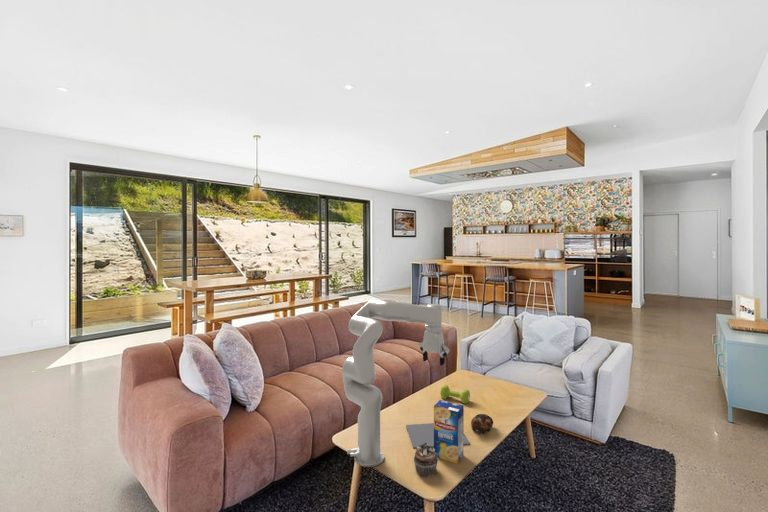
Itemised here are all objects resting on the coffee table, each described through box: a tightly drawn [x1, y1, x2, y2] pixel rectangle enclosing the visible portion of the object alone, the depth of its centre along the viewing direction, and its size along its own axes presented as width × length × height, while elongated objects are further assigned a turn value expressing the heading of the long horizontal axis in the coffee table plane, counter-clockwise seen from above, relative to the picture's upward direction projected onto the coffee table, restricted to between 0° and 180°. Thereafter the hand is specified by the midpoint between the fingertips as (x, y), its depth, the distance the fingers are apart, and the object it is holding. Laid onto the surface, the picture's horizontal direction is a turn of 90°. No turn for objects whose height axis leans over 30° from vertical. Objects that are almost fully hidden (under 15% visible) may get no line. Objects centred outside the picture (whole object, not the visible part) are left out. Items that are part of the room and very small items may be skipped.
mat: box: [405, 422, 471, 450], centre depth 177 cm, size 26×20×1 cm
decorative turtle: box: [470, 413, 494, 436], centre depth 181 cm, size 10×15×8 cm, turn 139°
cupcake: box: [413, 443, 439, 478], centre depth 150 cm, size 10×10×10 cm
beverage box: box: [433, 399, 465, 465], centre depth 160 cm, size 7×11×22 cm, turn 59°
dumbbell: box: [439, 384, 471, 405], centre depth 215 cm, size 16×8×7 cm, turn 58°
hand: (433, 362), depth 187 cm, fingers open, 9 cm apart
